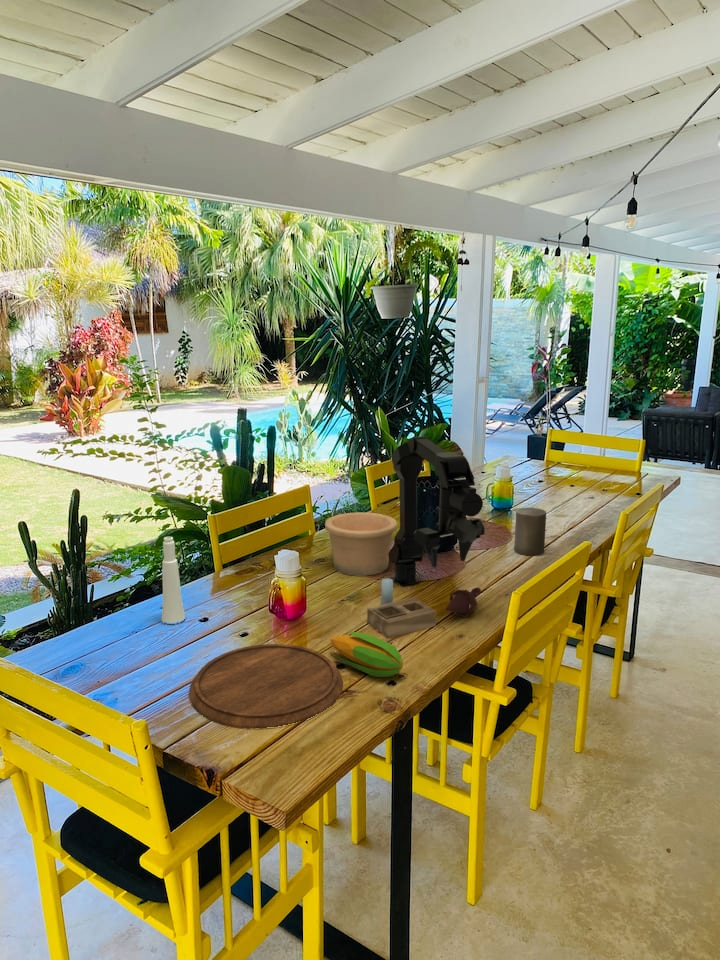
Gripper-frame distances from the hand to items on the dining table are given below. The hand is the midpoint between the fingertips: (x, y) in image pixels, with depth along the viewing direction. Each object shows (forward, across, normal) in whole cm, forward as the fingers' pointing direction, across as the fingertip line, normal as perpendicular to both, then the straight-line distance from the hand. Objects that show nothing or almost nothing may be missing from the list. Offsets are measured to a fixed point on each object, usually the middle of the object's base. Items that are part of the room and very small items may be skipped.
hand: (448, 563), depth 182 cm
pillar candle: (+15, +54, +25) cm, 61 cm away
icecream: (+14, +3, -2) cm, 15 cm away
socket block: (+14, -14, +1) cm, 19 cm away
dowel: (+14, -11, +11) cm, 21 cm away
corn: (+14, -33, -13) cm, 38 cm away
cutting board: (+14, -55, -9) cm, 57 cm away
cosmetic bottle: (+14, -62, +33) cm, 72 cm away
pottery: (+15, -1, +42) cm, 44 cm away
